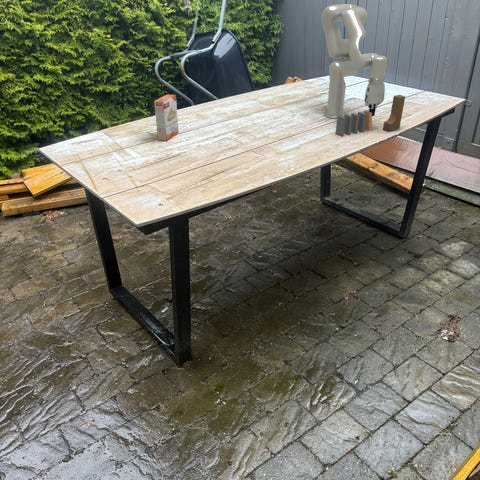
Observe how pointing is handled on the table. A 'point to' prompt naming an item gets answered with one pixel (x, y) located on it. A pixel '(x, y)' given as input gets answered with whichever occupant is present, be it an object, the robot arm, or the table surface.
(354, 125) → the domino
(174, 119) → the cracker box
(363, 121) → the domino
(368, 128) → the domino
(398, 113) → the wooden block
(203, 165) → the table surface
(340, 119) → the domino
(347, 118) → the domino
